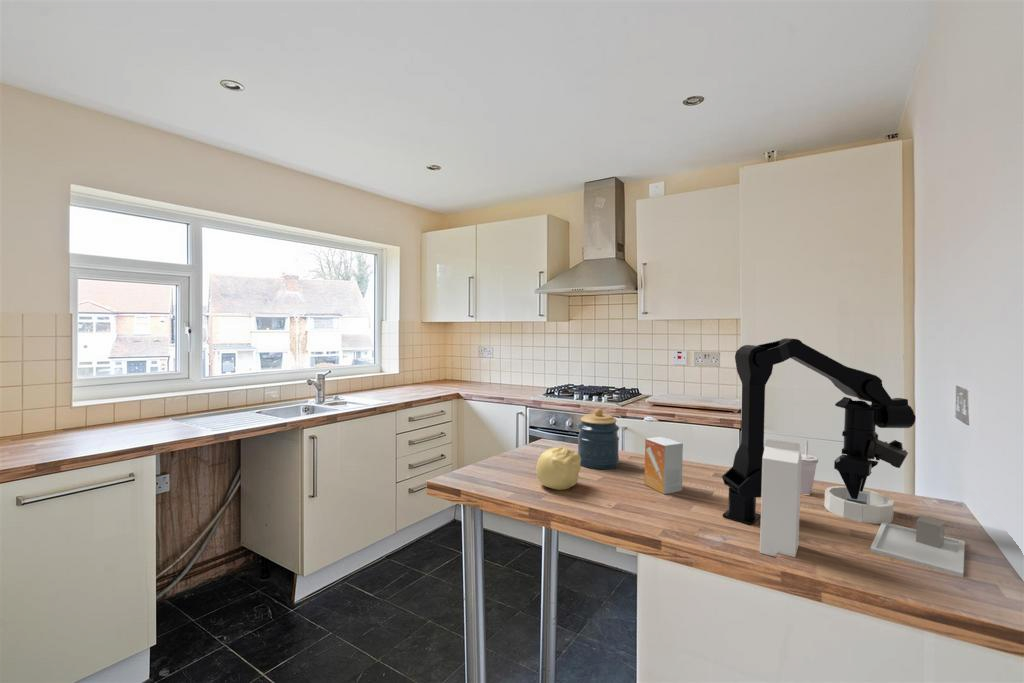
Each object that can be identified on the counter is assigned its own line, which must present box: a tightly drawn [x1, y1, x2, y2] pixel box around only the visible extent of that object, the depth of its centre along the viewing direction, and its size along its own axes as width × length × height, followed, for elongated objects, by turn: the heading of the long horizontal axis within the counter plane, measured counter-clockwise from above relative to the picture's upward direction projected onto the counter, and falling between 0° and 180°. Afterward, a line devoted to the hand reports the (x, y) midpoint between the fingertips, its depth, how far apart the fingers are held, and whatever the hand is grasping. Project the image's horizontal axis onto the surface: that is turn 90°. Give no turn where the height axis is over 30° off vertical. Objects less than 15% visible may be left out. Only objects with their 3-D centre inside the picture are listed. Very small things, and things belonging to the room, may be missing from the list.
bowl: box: [824, 485, 895, 525], centre depth 110 cm, size 13×13×5 cm
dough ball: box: [535, 445, 582, 491], centre depth 129 cm, size 12×12×11 cm
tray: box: [869, 522, 966, 578], centre depth 92 cm, size 17×13×2 cm
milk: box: [759, 438, 802, 558], centre depth 92 cm, size 6×6×22 cm
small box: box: [643, 436, 684, 495], centre depth 127 cm, size 8×6×13 cm
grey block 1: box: [847, 492, 867, 504], centre depth 108 cm, size 4×4×4 cm
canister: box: [577, 407, 620, 470], centre depth 149 cm, size 13×13×18 cm
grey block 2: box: [915, 515, 946, 548], centre depth 94 cm, size 4×4×4 cm
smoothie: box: [800, 440, 819, 495], centre depth 124 cm, size 6×6×14 cm
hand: (857, 494), depth 108 cm, fingers open, 7 cm apart
